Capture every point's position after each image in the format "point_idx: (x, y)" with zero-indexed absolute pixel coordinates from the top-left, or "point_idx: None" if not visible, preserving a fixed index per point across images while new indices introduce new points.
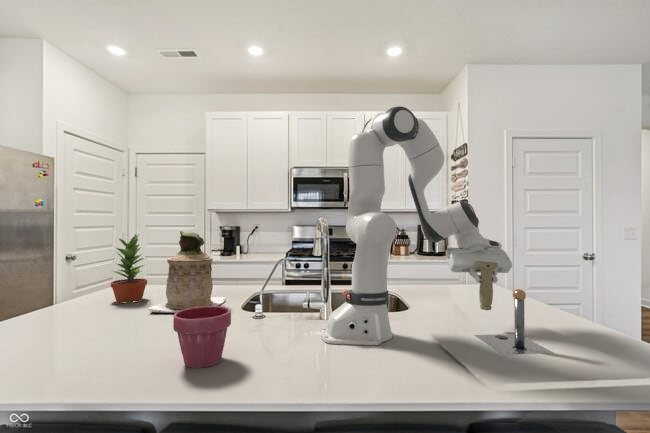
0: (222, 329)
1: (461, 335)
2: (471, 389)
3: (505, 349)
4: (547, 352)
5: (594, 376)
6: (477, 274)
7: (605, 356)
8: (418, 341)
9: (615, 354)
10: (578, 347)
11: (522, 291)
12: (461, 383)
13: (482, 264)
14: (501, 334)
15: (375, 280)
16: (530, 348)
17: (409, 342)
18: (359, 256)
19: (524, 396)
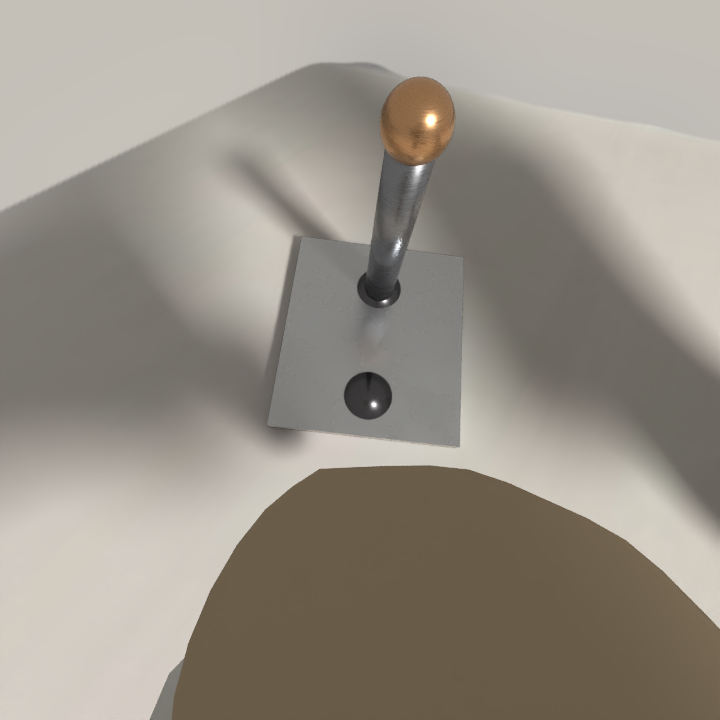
0: None
1: None
2: (616, 154)
3: (431, 288)
4: (319, 242)
5: (309, 141)
6: None
7: (144, 220)
8: (675, 464)
9: (95, 225)
10: (143, 294)
11: (417, 77)
12: (627, 177)
13: (646, 573)
14: (341, 430)
15: None
16: (345, 279)
17: (710, 460)
18: None
19: (526, 114)
